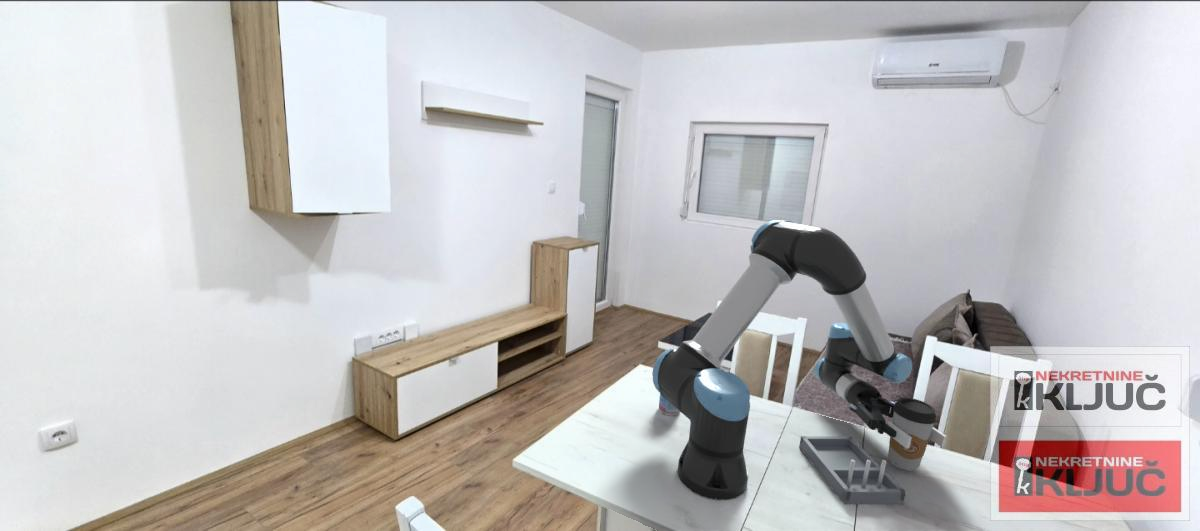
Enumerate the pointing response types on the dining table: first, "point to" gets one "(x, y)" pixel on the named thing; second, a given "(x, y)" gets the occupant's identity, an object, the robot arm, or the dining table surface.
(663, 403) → the pill bottle
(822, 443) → the dish rack
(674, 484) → the dining table surface
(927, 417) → the coffee cup
